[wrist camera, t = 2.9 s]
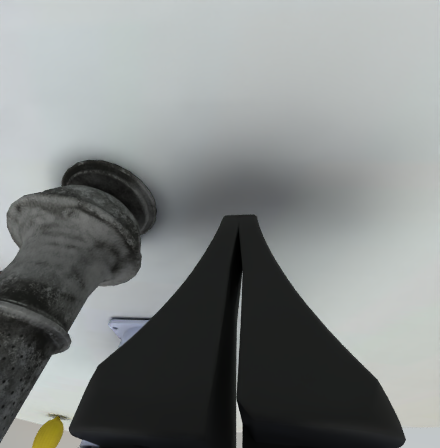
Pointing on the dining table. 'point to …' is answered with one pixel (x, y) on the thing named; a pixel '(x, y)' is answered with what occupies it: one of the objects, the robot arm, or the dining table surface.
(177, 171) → the dining table surface
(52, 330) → the salt shaker
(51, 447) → the lemon
